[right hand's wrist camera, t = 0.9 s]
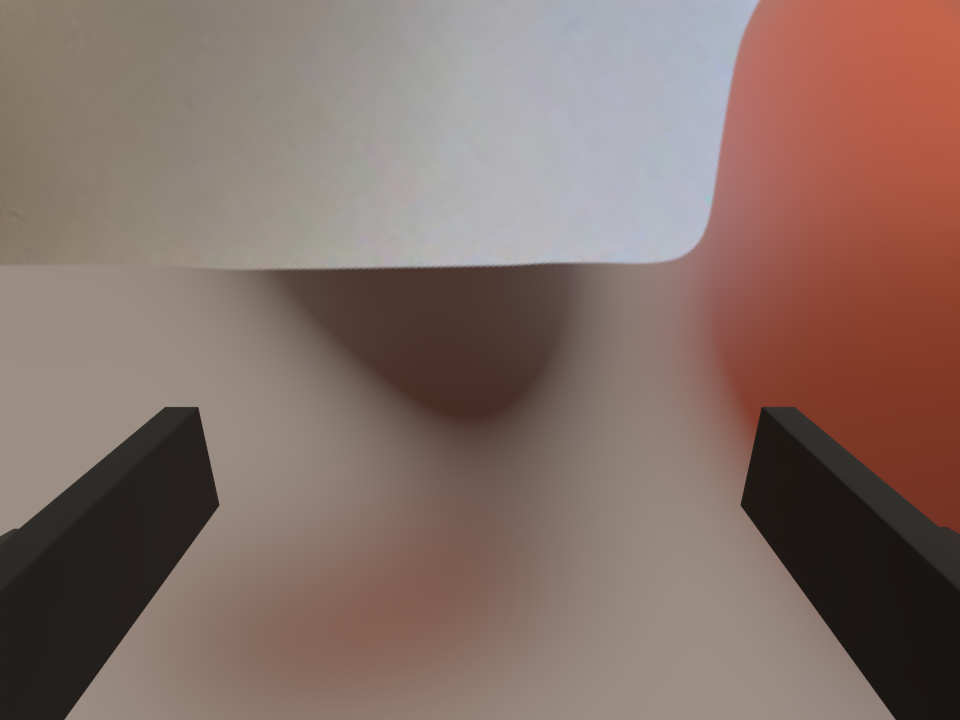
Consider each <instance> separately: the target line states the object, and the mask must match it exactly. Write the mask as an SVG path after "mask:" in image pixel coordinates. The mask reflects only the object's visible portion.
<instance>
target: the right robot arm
mask: <svg viewBox="0 0 960 720" xmlns="http://www.w3.org/2000/svg"><path fill="white" fill-rule="evenodd" d="M218 506H219V501H218V496H217V492H216V487H215V483H214V478H213V473H212V469H211V464H210V459H209V455H208V450H207V446H206V441H205V436H204V432H203V427H202V422H201V418H200V413H199V409H198V407H165V408H164V409H162V410H161V411H160V412H159V413H158V414H156V415H155V416H154V417H153V418H152V419H150V420H149V421H148V422H147V423H146V424H144V425H143V426H142V427H141V428H140V429H138V430H137V431H136V432H135V433H134V434H132V435H131V436H130V437H129V438H128V439H126V440H125V441H124V442H123V443H122V444H120V445H119V446H118V447H117V448H116V449H114V450H113V451H112V452H111V453H110V454H108V455H107V456H106V457H105V458H104V459H102V460H101V461H100V462H99V463H98V464H96V465H95V466H94V467H93V468H92V469H90V470H89V471H88V472H87V473H86V474H84V475H83V476H82V477H81V478H80V479H78V480H77V481H76V482H75V483H74V484H72V485H71V486H70V487H69V488H68V489H66V490H65V491H64V492H63V493H62V494H60V495H59V496H58V497H57V498H56V499H54V500H53V501H52V502H51V503H50V504H48V505H47V506H46V507H45V508H44V509H42V510H41V511H40V512H39V513H38V514H36V515H35V516H34V517H33V518H32V519H30V520H29V521H28V522H27V523H25V524H24V525H23V526H22V527H21V528H19V529H13V530H11V531H9V532H7V533H5V534H4V535H2V536H0V720H64V719H65V718H66V717H67V715H68V714H69V712H70V711H71V710H72V708H73V707H74V705H75V704H76V703H77V701H78V700H79V699H80V697H81V696H82V694H83V693H84V692H85V690H86V689H87V688H88V686H89V685H90V683H91V682H92V681H93V679H94V678H95V676H96V675H97V674H98V672H99V671H100V669H101V668H102V667H103V665H104V664H105V663H106V661H107V660H108V658H109V657H110V656H111V654H112V653H113V652H114V650H115V649H116V647H117V646H118V645H119V643H120V642H121V641H122V639H123V638H124V636H125V635H126V634H127V632H128V631H129V629H130V628H131V627H132V625H133V624H134V623H135V621H136V620H137V618H138V617H139V616H140V614H141V613H142V611H143V610H144V609H145V607H146V606H147V605H148V603H149V602H150V600H151V599H152V598H153V596H154V595H155V593H156V592H157V591H158V589H159V588H160V587H161V585H162V584H163V583H164V581H165V580H166V578H167V577H168V575H169V574H170V573H171V571H172V570H173V569H174V567H175V566H176V565H177V563H178V562H179V560H180V559H181V558H182V556H183V555H184V553H185V552H186V551H187V549H188V548H189V547H190V545H191V544H192V542H193V541H194V540H195V538H196V537H197V536H198V534H199V533H200V531H201V530H202V529H203V527H204V526H205V524H206V523H207V522H208V520H209V519H210V518H211V516H212V515H213V513H214V512H215V511H216V509H217V508H218ZM741 506H742V508H743V509H744V511H745V512H746V513H747V515H748V516H749V517H750V519H751V520H752V522H753V523H754V524H755V526H756V527H757V529H758V530H759V531H760V533H761V534H762V536H763V537H764V538H765V540H766V541H767V542H768V544H769V545H770V546H771V548H772V549H773V551H774V552H775V553H776V555H777V556H778V558H779V559H780V560H781V562H782V563H783V565H784V566H785V567H786V569H787V570H788V571H789V573H790V574H791V576H792V577H793V578H794V580H795V581H796V583H797V584H798V585H799V587H800V588H801V589H802V591H803V592H804V594H805V595H806V596H807V598H808V599H809V600H810V602H811V603H812V605H813V606H814V607H815V609H816V610H817V612H818V613H819V614H820V616H821V617H822V618H823V620H824V621H825V623H826V624H827V625H828V627H829V628H830V629H831V631H832V632H833V634H834V635H835V636H836V638H837V639H838V641H839V642H840V643H841V645H842V646H843V647H844V649H845V650H846V652H847V653H848V654H849V656H850V657H851V658H852V660H853V661H854V662H855V664H856V665H857V667H858V668H859V670H860V671H861V672H862V674H863V675H864V676H865V678H866V679H867V681H868V682H869V683H870V685H871V686H872V688H873V689H874V690H875V692H876V693H877V694H878V696H879V697H880V699H881V700H882V701H883V703H884V704H885V706H886V707H887V708H888V710H889V711H890V712H891V714H892V715H893V717H894V718H895V719H896V720H960V534H959V533H957V532H955V531H953V530H951V529H950V528H948V527H938V526H937V525H936V524H935V523H933V522H932V521H931V520H930V519H928V518H927V517H926V516H925V515H924V514H922V513H921V512H920V511H919V510H918V509H916V508H915V507H914V506H913V505H912V504H910V503H909V502H908V501H907V500H906V499H904V498H903V497H902V496H901V495H900V494H898V493H897V492H896V491H895V490H894V489H892V488H891V487H890V486H889V485H888V484H886V483H885V482H884V481H883V480H882V479H880V478H879V477H878V476H877V475H876V474H874V473H873V472H872V471H871V470H870V469H868V468H867V467H866V466H865V465H864V464H862V463H861V462H860V461H859V460H858V459H856V458H855V457H854V456H853V455H852V454H850V453H849V452H848V451H847V450H846V449H844V448H843V447H842V446H841V445H840V444H838V443H837V442H836V441H835V440H834V439H832V438H831V437H830V436H829V435H828V434H826V433H825V432H824V431H823V430H822V429H820V428H819V427H818V426H817V425H816V424H814V423H813V422H812V421H811V420H810V419H808V418H807V417H806V416H805V415H804V414H802V413H801V412H800V411H799V410H798V409H796V408H795V407H762V408H761V413H760V418H759V422H758V427H757V432H756V436H755V441H754V445H753V450H752V455H751V459H750V464H749V469H748V473H747V478H746V483H745V487H744V492H743V497H742V501H741Z"/></svg>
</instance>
